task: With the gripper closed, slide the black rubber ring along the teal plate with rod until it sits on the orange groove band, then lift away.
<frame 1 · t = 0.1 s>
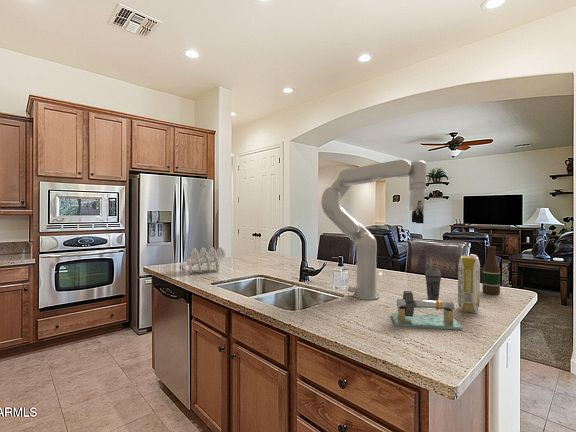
hand: (417, 222, 154), 37 cm above the worktop, tool pointing down, fingers open, 9 cm apart
beer bottle: (491, 293, 164), on the worktop
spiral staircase: (205, 272, 223), on the worktop
teal plate with rod: (424, 322, 123), on the worktop
beverage cup: (433, 299, 153), on the worktop
ring: (408, 303, 124), point 7 cm above the worktop, slide at 0.0 cm
juice carton: (468, 310, 138), on the worktop
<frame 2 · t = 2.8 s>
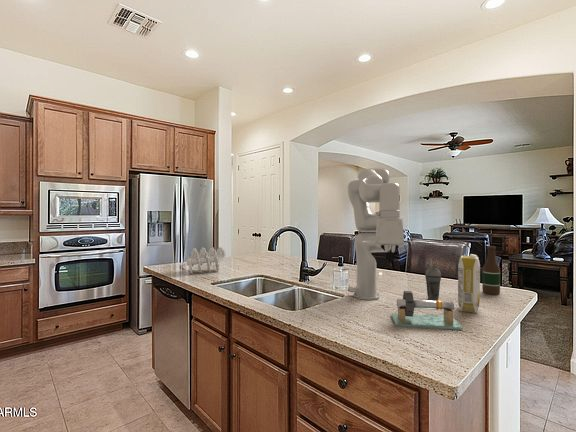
hand: (389, 262, 125), 23 cm above the worktop, tool pointing down, fingers closed
nothing on the worktop moved.
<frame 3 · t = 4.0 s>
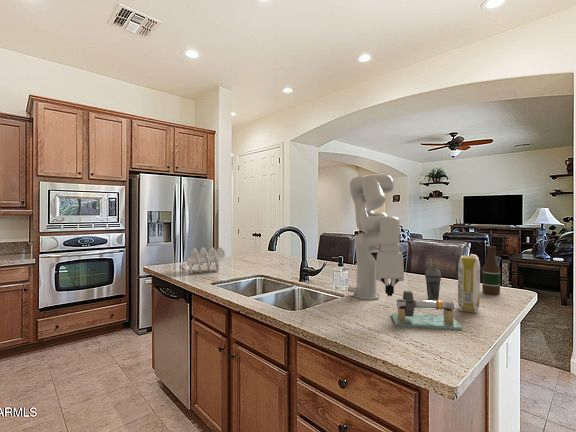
hand: (389, 295, 125), 10 cm above the worktop, tool pointing down, fingers closed
nothing on the worktop moved.
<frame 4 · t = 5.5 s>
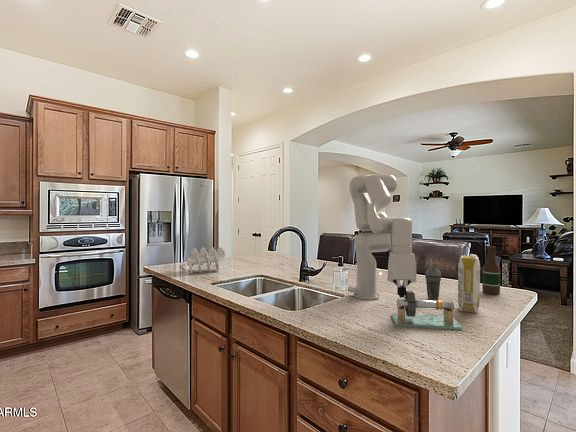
hand: (401, 296, 124), 10 cm above the worktop, tool pointing down, fingers closed
ring: (410, 303, 124), point 7 cm above the worktop, slide at 0.7 cm, touching gripper
everything else where it was.
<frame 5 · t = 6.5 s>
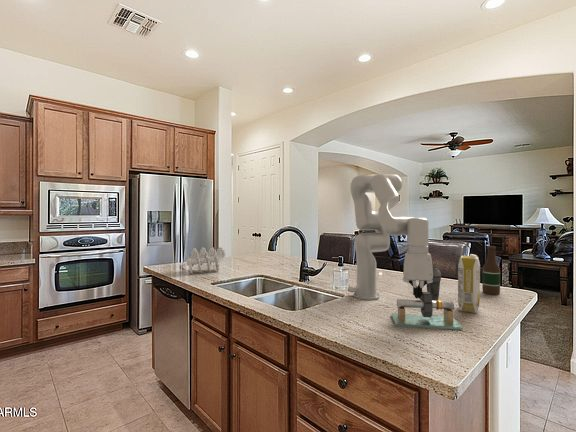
hand: (417, 297, 123), 10 cm above the worktop, tool pointing down, fingers closed
ring: (426, 304, 123), point 7 cm above the worktop, slide at 6.5 cm, touching gripper
everything else where it was.
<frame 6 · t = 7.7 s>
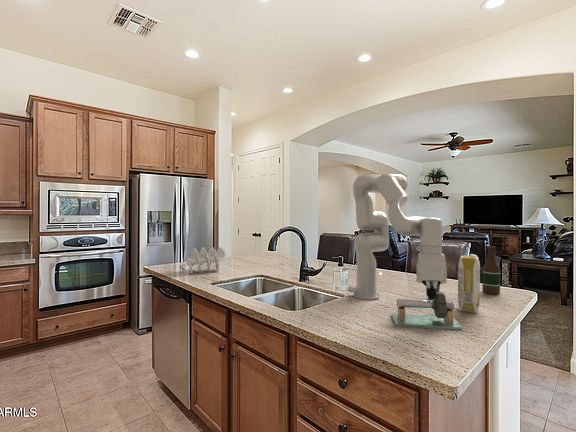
hand: (430, 297, 122), 10 cm above the worktop, tool pointing down, fingers closed
ring: (439, 305, 122), point 7 cm above the worktop, slide at 11.4 cm, touching gripper
everything else where it was.
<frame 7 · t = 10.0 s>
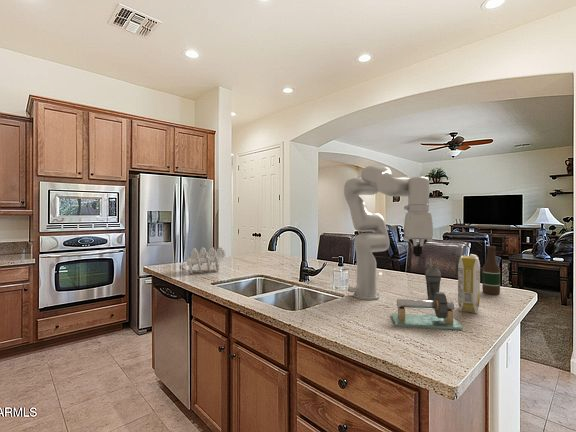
hand: (417, 255, 125), 25 cm above the worktop, tool pointing down, fingers closed
ring: (440, 305, 122), point 7 cm above the worktop, slide at 11.6 cm
everything else where it was.
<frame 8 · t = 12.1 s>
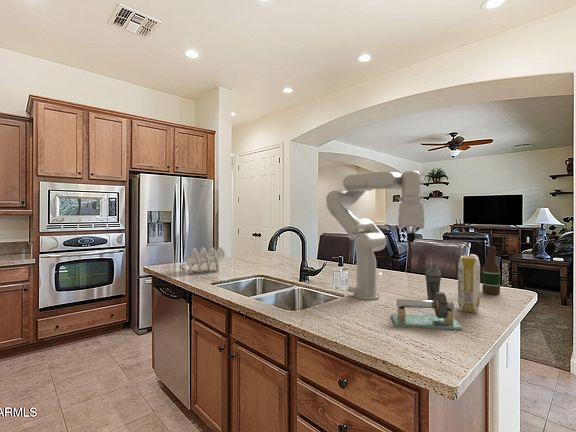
hand: (410, 242, 139), 29 cm above the worktop, tool pointing down, fingers closed
nothing on the worktop moved.
at the end: ring slide at 11.6 cm; ring 0.6 cm from the target spot on the teal plate with rod, point 7.0 cm above the teal plate with rod's base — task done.
